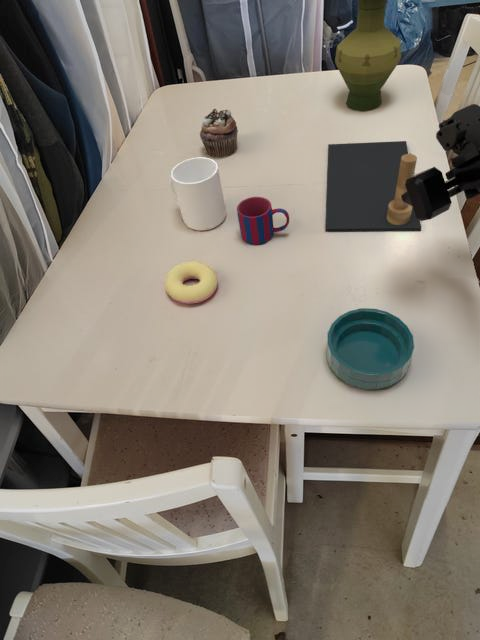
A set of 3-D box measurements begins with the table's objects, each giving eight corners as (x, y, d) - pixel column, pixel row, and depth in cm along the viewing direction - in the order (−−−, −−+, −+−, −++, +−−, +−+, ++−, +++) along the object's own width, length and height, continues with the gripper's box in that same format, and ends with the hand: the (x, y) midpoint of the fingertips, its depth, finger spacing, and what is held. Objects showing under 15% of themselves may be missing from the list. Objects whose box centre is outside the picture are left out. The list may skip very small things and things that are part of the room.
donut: (193, 273, 88) (158, 297, 83) (187, 253, 86) (151, 277, 81) (229, 286, 83) (195, 313, 78) (225, 265, 80) (189, 291, 75)
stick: (408, 211, 88) (421, 150, 78) (411, 225, 85) (423, 164, 75) (385, 211, 89) (394, 151, 79) (387, 225, 86) (396, 165, 76)
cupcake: (242, 139, 116) (237, 100, 108) (236, 159, 110) (231, 119, 102) (207, 140, 118) (199, 102, 110) (199, 160, 112) (191, 122, 104)
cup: (246, 222, 93) (243, 195, 88) (293, 227, 90) (292, 199, 85) (236, 243, 89) (232, 215, 84) (284, 249, 86) (283, 221, 81)
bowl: (404, 327, 71) (409, 309, 68) (412, 394, 63) (418, 377, 60) (327, 325, 73) (328, 307, 70) (325, 388, 66) (326, 372, 62)
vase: (323, 99, 125) (325, -34, 102) (375, 84, 126) (389, -50, 103) (350, 123, 114) (359, -19, 91) (406, 107, 116) (429, -36, 93)
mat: (405, 144, 105) (406, 140, 104) (420, 231, 85) (421, 227, 84) (328, 147, 108) (328, 144, 108) (325, 231, 88) (325, 228, 88)
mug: (220, 233, 92) (210, 184, 83) (167, 230, 95) (152, 182, 86) (231, 206, 98) (223, 157, 89) (181, 203, 101) (168, 156, 92)
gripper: (546, 73, 56) (453, 117, 71) (435, 124, 52) (360, 159, 67) (568, 158, 58) (474, 183, 73) (464, 213, 54) (385, 228, 69)
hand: (425, 187), depth 70 cm, fingers open, 9 cm apart
